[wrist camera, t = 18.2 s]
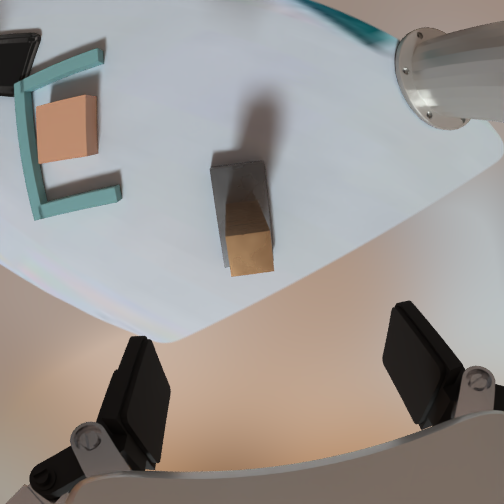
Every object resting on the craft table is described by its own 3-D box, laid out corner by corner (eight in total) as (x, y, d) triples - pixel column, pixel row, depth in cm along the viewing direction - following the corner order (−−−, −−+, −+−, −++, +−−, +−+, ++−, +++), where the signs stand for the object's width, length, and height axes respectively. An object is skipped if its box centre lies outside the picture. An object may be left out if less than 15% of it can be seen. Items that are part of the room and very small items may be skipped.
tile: (97, 96, 25) (85, 94, 22) (99, 153, 27) (87, 156, 24) (50, 107, 24) (36, 106, 22) (52, 160, 27) (38, 164, 24)
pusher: (210, 166, 29) (202, 187, 19) (262, 160, 29) (280, 177, 19) (224, 260, 33) (224, 318, 23) (271, 254, 33) (290, 309, 23)
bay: (103, 51, 23) (97, 48, 21) (122, 198, 29) (117, 202, 27) (21, 84, 22) (13, 84, 21) (41, 216, 28) (34, 220, 27)
